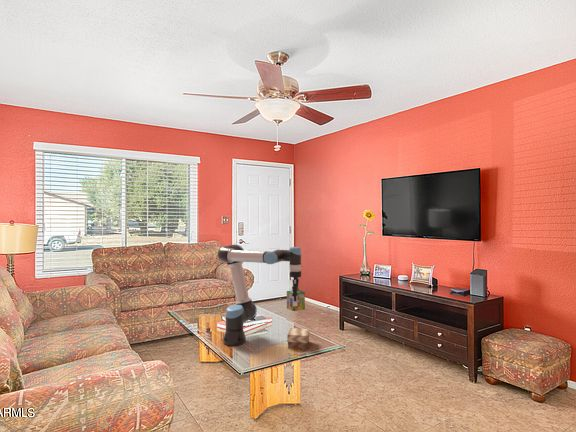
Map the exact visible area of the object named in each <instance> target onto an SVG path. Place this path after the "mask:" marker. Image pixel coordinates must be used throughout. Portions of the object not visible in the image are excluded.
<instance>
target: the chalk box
mask: <svg viewBox="0 0 576 432" xmlns="http://www.w3.org/2000/svg"><path fill="white" fill-rule="evenodd" d="M291 289H292V290H287V291H286V309H287V310H291V311H293V312H296V311H297V312H299V311H303V310H304V311H305V309H306V292H305V291H304V290H303V291H302V290H300V289H299V286H298V287H297V306H293V296H292V295H293V286H292V287H291Z"/></svg>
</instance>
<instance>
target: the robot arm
mask: <svg viewBox="0 0 576 432" xmlns="http://www.w3.org/2000/svg"><path fill="white" fill-rule="evenodd" d="M217 251H218V252H217V258H218V260H219V261H220V262H221V263H224V264H225V263H226V264H227V265H226V266H228V267H229V268H230V273H231V274H230V275H231V278H232V284H233V288H234V293H235V296H236V297H235V298H236V301H235V304H232V305H229V306H227V308H226V310H225V332H224V335H223V338H222V343H223V344H224V345H226V346H233V347H236V346H241V345H243V344H245V343H246V341H247V339H246V334H245V331H244V323H247V321H251V320H252V319H253V318H255V316H256V315H257V311H258V309H257V306H256V304H255V302H253V300H252V298H250V297H249V292H248V288H247V287H248V286H247V281H246V278H245V273H244V268H243V263H258V264H266V265H274V264H277V263H281V262H289V277H290V278H293V279H292V280H291V281H292V282H291V283H292V287H293V295H292V296H293V306H297V287H298V288H299V281H300V280H299V278H301V277H302V271H301V270H302V267H303V266H302V249H301V247H299V246H291V247H289V249H274V250H273V251H263V250H259V251H258V250H244V248H243V247H242V246H241V245H240V244H229V245H224V246H221V247H220V248H219V249H218V250H217Z"/></svg>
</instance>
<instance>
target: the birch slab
mask: <svg viewBox="0 0 576 432" xmlns="http://www.w3.org/2000/svg"><path fill="white" fill-rule="evenodd" d="M308 340H310V329H309V328H295V327H294V328H292V327H290V328H289V330H288V333H287V343H288V342H301V343H308Z"/></svg>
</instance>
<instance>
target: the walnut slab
mask: <svg viewBox="0 0 576 432" xmlns="http://www.w3.org/2000/svg"><path fill="white" fill-rule="evenodd" d="M309 340H310V339H309ZM309 340H308V343H301V342H287V349H289V348H290V349H293V350H294V349H295V350H297V349H298V350H309V343H310V341H309Z"/></svg>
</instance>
